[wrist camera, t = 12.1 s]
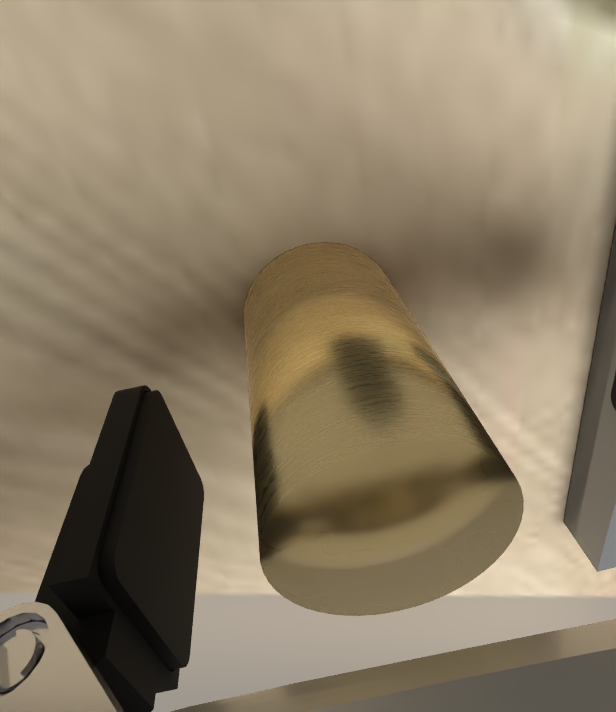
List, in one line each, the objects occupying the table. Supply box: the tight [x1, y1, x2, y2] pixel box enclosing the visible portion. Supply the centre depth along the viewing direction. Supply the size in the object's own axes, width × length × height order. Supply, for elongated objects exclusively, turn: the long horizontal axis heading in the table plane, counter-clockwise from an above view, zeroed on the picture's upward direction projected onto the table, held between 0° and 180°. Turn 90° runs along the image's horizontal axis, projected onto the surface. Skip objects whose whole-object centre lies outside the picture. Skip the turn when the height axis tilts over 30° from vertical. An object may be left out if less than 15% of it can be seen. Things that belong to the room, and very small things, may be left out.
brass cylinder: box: [244, 243, 523, 616], centre depth 10 cm, size 4×4×7 cm
